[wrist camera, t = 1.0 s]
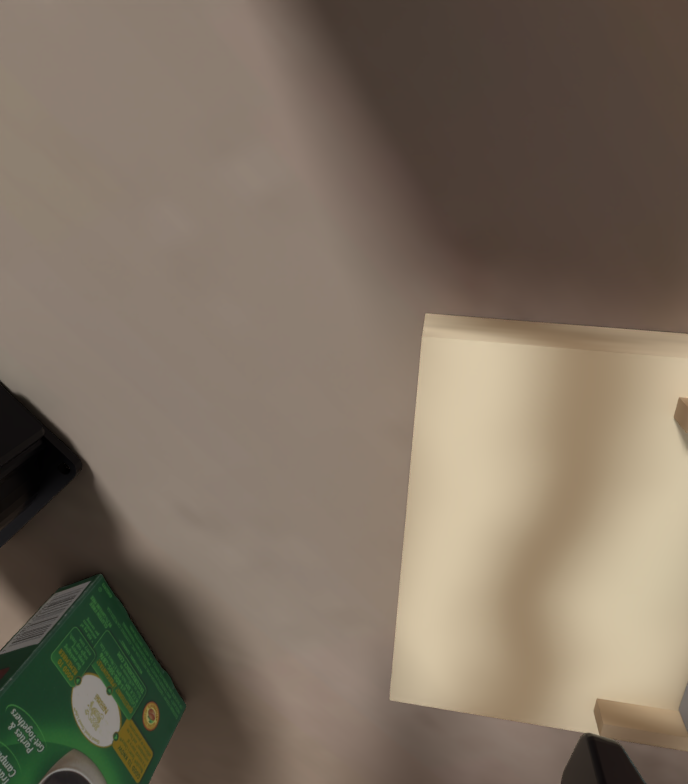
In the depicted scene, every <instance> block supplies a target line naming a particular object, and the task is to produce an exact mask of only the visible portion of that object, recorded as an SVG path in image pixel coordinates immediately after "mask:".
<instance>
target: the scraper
mask: <svg viewBox="0 0 688 784" xmlns="http://www.w3.org/2000/svg"><path fill="white" fill-rule="evenodd" d="M678 710H679V712H680V715H681V717H682V720H683V722H684V725H685V727H686V730H687V732H688V683H687V686H686V689H685V692H684V695H683V697H682V700H681V703H680V706H679V709H678Z"/></svg>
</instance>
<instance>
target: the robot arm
mask: <svg viewBox="0 0 688 784" xmlns="http://www.w3.org/2000/svg"><path fill="white" fill-rule="evenodd" d="M64 463H66V464H67V465H68V466H69V467H70V469H69V468H67V467H66V466H65V464H64ZM81 470H82V464H81V461H80V459H79V458H78V457H77V456H76V455H75V454H74V453H73V452H72V451H71V450H70V449H69V448H68V447H67V446H66V445H64V444H63V443H62V442H61V441H60V440H59V439H58V438H57V437H56V436H55V435H54V434H53V433H52V432H51V431H49V430H48V429H47V428H46V427H45V426H44V425H43V424H42V423H41V422H40V421H39V420H38V419H37V418H36V417H35V416H33V415H32V414H31V413H30V412H29V411H28V410H27V409H26V408H25V407H24V406H23V405H22V404H21V403H20V402H18V401H17V400H16V399H15V398H14V397H13V396H12V395H11V394H10V393H9V392H8V391H7V390H6V389H5V388H3V387H2V386H1V385H0V548H1V547H2V546H3V545H4V544H5V543H6V542H7V541H8V540H9V539H10V538H11V537H13V536H14V535H15V534H16V533H17V532H18V531H19V530H20V529H21V528H22V527H23V526H24V525H25V524H26V523H27V522H28V521H29V520H30V519H31V518H32V517H34V516H35V515H36V514H37V513H38V512H39V511H40V510H41V509H42V508H43V507H44V506H45V505H46V504H47V503H48V502H49V501H50V500H51V499H52V498H53V497H54V496H56V495H57V494H58V493H59V492H60V491H61V490H62V489H63V488H64V487H65V486H66V485H67V484H68V483H69V482H70V481H71V480H72V479H73V478H74V477H75V476H77V475H78V474H79V473H80V471H81ZM561 784H646V783H645V782H644V780H643V778H642V777H641V775H640V774H639V772H638V771H637V769H636V767H635V766H634V764H633V763H632V761H631V760H630V758H629V757H628V755H627V753H626V752H625V750H624V749H623V747H622V746H621V745H620V744H619V743H618V742H617V741H615V740H613V739H610V738H606V737H603V736H599V735H596V734H593V733H584V734H583V735H582V736H581V737H580V739H579V741H578V743H577V745H576V747H575V749H574V751H573V753H572V755H571V757H570V759H569V761H568V763H567V765H566V767H565V769H564V772H563V775H562V780H561Z"/></svg>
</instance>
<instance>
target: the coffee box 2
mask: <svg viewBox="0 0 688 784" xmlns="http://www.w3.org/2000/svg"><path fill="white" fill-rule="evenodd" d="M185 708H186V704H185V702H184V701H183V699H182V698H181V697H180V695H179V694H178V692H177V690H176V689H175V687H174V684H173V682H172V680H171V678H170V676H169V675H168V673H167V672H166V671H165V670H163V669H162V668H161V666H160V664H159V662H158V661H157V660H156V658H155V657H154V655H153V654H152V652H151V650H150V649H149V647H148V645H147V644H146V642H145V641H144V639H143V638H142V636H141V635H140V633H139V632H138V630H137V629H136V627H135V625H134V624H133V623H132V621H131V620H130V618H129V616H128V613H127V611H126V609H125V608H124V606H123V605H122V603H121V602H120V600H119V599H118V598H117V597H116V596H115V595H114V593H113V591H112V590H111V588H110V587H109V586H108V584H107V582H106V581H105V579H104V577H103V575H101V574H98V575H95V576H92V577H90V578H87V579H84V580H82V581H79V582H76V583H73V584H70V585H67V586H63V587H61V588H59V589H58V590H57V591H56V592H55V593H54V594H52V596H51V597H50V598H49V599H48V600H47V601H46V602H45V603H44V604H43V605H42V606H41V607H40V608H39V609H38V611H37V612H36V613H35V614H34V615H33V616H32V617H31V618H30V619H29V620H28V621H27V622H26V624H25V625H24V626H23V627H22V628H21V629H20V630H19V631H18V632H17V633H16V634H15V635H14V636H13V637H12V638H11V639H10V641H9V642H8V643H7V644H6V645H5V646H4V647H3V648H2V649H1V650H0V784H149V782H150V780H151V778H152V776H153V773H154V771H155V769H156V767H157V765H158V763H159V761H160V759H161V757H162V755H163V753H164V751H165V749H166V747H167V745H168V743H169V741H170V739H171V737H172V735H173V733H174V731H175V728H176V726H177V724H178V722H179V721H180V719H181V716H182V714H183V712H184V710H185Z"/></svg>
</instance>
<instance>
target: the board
mask: <svg viewBox="0 0 688 784" xmlns="http://www.w3.org/2000/svg"><path fill="white" fill-rule="evenodd" d="M687 683H688V334H684V333H671V332H659V331H646V330H633V329H620V328H607V327H594V326H582V325H569V324H556V323H543V322H530V321H517V320H505V319H492V318H479V317H466V316H453V315H441V314H428V313H426V314H425V321H424V327H423V334H422V342H421V354H420V365H419V376H418V387H417V398H416V409H415V420H414V431H413V443H412V454H411V465H410V476H409V487H408V498H407V509H406V520H405V532H404V543H403V554H402V565H401V576H400V587H399V598H398V609H397V621H396V632H395V643H394V654H393V665H392V676H391V687H390V698H389V700H391V701H397V702H403V703H409V704H415V705H421V706H427V707H433V708H439V709H445V710H451V711H457V712H463V713H469V714H475V715H481V716H487V717H493V718H499V719H505V720H511V721H517V722H523V723H529V724H535V725H541V726H547V727H553V728H559V729H565V730H571V731H577V732H583V733H593V734H596V735H599V736H603V737H606V738H610V739H616V740H622V741H627V742H633V743H639V744H645V745H651V746H657V747H663V748H669V749H675V750H681V751H687V752H688V732H687V730H686V727H685V725H684V722H683V720H682V717H681V715H680V712H679V710H678V709H679V706H680V703H681V700H682V697H683V695H684V692H685V689H686V686H687Z"/></svg>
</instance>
